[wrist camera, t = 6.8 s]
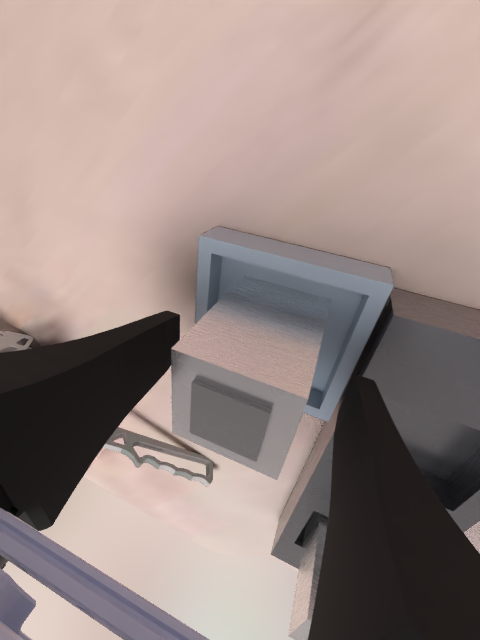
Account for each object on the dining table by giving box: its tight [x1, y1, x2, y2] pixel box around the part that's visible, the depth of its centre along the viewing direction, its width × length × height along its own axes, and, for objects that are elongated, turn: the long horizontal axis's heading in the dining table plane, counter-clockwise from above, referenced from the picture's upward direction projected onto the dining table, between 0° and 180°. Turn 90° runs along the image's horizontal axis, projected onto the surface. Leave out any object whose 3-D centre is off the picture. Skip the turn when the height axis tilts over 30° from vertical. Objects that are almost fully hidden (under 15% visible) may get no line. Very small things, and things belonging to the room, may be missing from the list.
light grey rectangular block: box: [171, 276, 331, 480], centre depth 11 cm, size 4×4×6 cm
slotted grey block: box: [289, 511, 328, 640], centre depth 16 cm, size 4×4×6 cm
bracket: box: [0, 331, 213, 487], centre depth 22 cm, size 3×21×10 cm, turn 65°
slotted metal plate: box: [271, 288, 480, 569], centre depth 16 cm, size 7×22×2 cm, turn 172°
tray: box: [195, 226, 394, 422], centre depth 13 cm, size 8×8×2 cm
